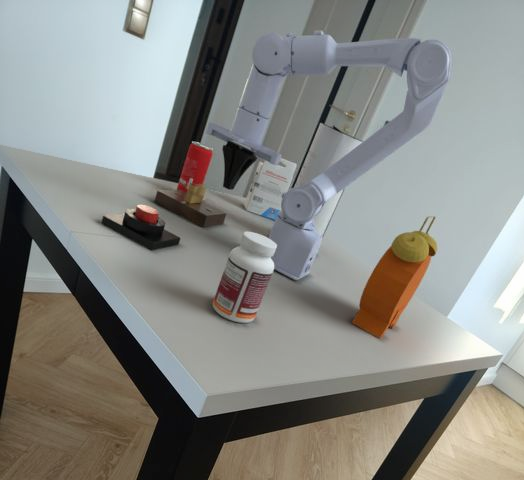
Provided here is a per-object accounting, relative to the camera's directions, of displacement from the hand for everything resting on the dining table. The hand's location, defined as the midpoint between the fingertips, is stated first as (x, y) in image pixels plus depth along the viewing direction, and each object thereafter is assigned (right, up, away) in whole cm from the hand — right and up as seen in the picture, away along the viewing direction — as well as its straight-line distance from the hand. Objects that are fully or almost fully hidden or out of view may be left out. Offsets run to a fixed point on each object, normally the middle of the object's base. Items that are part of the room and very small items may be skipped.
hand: (228, 188), depth 95 cm
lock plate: (-9, -2, +11) cm, 14 cm away
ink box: (+6, +5, +37) cm, 38 cm away
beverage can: (-11, +4, +22) cm, 25 cm away
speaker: (+14, -7, +21) cm, 26 cm away
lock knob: (-8, 0, +10) cm, 13 cm away
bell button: (-13, -9, -12) cm, 20 cm away
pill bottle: (+2, -25, -24) cm, 35 cm away
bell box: (-14, -11, -11) cm, 21 cm away
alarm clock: (+26, -26, -6) cm, 37 cm away
